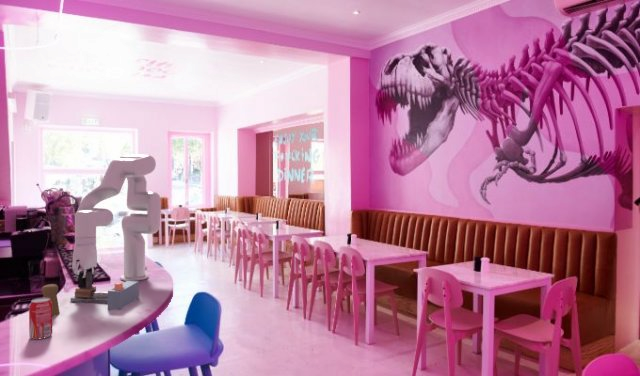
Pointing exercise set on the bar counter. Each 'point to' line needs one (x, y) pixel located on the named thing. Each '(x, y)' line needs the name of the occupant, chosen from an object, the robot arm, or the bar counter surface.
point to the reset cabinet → (123, 295)
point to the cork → (51, 297)
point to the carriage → (87, 290)
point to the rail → (93, 298)
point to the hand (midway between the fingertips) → (85, 285)
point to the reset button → (118, 286)
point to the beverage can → (40, 318)
